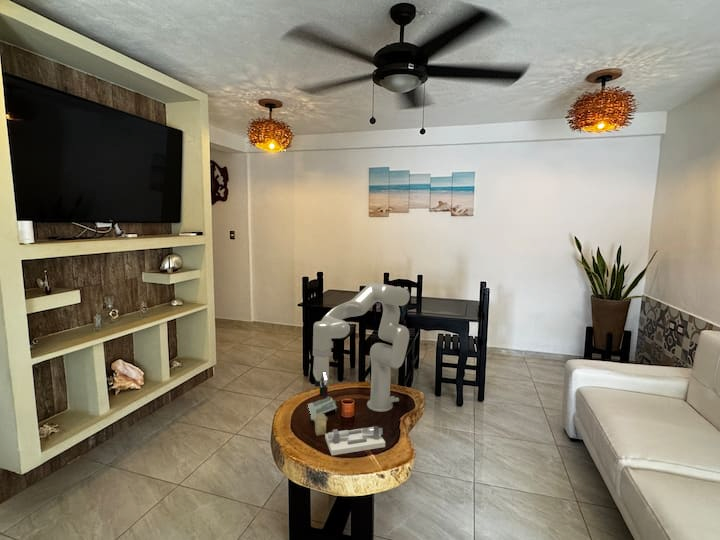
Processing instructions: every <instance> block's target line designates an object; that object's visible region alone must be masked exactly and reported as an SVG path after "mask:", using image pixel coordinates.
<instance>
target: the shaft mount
mask: <svg viewBox="0 0 720 540" xmlns="http://www.w3.org/2000/svg"><path fill="white" fill-rule="evenodd" d="M369 428H373V426H371V427H370V426H369ZM324 439H325V441H326V445H327V448H328V450H329V452H330V454H331V456H337V455H343V454H349V453H355V452H363V451H369V450H373V449H374V450H375V449H380V448H381V449H382V448H386V441H385V439H384V438H383V437H382V434H379V439H374V437H373V434H362V428H357V429H356V428H355V429H350V430H348V429H344V430H338V428H336V429H335V428H334V429H332V431H330V432H326V434H324Z"/></svg>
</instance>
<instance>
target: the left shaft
mask: <svg viewBox="0 0 720 540" xmlns="http://www.w3.org/2000/svg"><path fill="white" fill-rule="evenodd" d="M372 427H373V428H370V427H362V428H361V429H362V434H373V437H374V439H379V434H380V435H383V434H384V433H383V432H384V431H383V427H379V425H373V426H372Z"/></svg>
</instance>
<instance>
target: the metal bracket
mask: <svg viewBox="0 0 720 540" xmlns="http://www.w3.org/2000/svg"><path fill="white" fill-rule="evenodd" d="M336 404H337V403H336V400H333V397H330V396H326V398H322V399H319V400H316V401H314V402H310V403H308V404H307V405H308V407H307V409H308V408H309V409H308V412H309V411H310V412H309V414H311V415H310V420H311V421H314V418H315V415H320V414H326V413H328V412H331V411H334V410H335V411H337V409H338V406H337V405H336ZM307 405H306V406H307Z"/></svg>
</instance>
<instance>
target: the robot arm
mask: <svg viewBox="0 0 720 540" xmlns="http://www.w3.org/2000/svg"><path fill="white" fill-rule="evenodd" d="M377 302H378V303H380V304H381V305H382V316H381V319H380V324H379V326H378V327H379V328H378V331H377V332H378V333H377V334H378V338H379V339H381V340H382V341H384V342H387V343H391V344H392V345H390V344H386V343H383V342H375V343H374V344H372V345H371V347H370V351H369V356H370V365H371V366H370V368H371V374H370V375H371V376H370V377H371V378H370V399H368V401H366V406H367V408H368V409H369V410H371V411H374V412H378V413H379V412H380V413H382V412H383V413H384V412H388V411H390V410H392V409H393V403H397V402H400V398H399V397H396V396H395V395H391V376H392V372H391V370H392V369H399V368H400V367H402V365H403V363H404V361H405V357H406V354H407V350H408V346H409V341H410V331H409V329H408V328H407V326H405V325H402V324H399V322H400V317H401V310H400V307H402V306H405V305H407V304H408V302H410V291H409V290H408V289H406V288H404V287H399V286H394V285H389V284H385V283H378V282H371V283H368V284H367V285H365V287H364V288H363V289H362V290H360V291H359V292H358V293H357V294H356V295H355V296H354V297H353V298H352V299H350V300H349V301H346V302H344V303H343V302H342V303H341V304H339V305H337V306H335V307H333V308H331V309H330V310H329V311H328V312H327V313H326V314H325V315H324V316H323V317H322V319H320V320H319V321H315V322H314V323H313V328H312V329H313V331H312V333H313V334H312V335H313V336H312V356H313V367H312V374H313V377H314V387H318V388H319V397H321V398H322V397H328V392H329V391H328V389H329V388H328V387H329V386H328V385H329V383H328V381H329V378H330V361H329V360H330V359H329V357H330V356H332V339H344V338H346V337H347V336H348V335H349V334H350V332H351V326H350V324H349V323H348V322H347V321H345V320H344V319H348V318H351V317H353V318H354V317H359V316H363V315H365V314H366V313H367V312H368V311H369V310H370V309H371V308H372V307H373V306H374V305H375V304H376V303H377ZM399 306H400V307H399ZM391 368H392V369H391Z"/></svg>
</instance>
